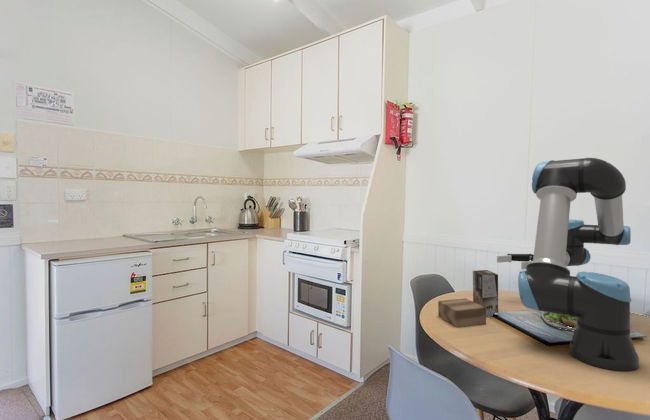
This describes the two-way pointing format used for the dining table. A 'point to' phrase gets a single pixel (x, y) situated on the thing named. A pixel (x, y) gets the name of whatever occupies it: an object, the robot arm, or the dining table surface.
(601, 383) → the dining table surface
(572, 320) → the salad plate
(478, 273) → the coffee box
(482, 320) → the walnut stand
